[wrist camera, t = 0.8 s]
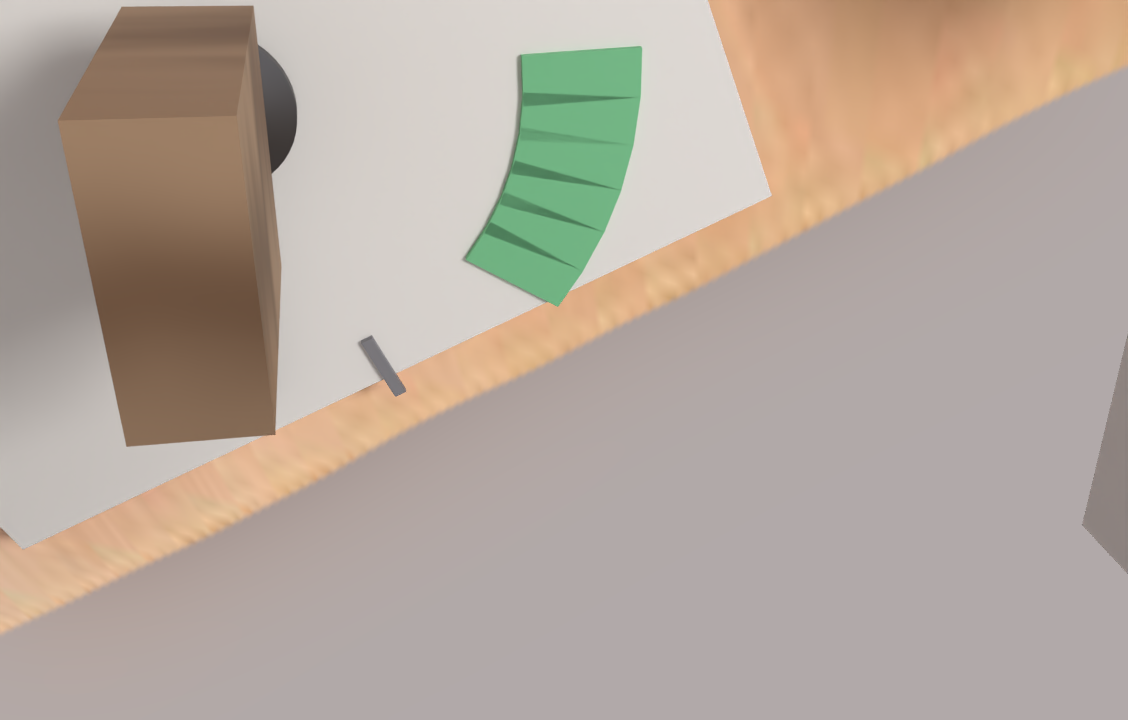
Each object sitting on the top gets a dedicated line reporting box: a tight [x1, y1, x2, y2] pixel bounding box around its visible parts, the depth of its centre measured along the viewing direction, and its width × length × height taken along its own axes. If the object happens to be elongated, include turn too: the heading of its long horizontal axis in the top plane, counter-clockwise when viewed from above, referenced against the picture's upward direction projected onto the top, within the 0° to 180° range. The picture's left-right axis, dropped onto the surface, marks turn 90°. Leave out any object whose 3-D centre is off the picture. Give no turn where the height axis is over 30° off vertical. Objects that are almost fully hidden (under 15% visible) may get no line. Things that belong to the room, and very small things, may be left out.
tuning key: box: [58, 6, 297, 447], centre depth 27 cm, size 14×4×11 cm, turn 178°
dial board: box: [0, 0, 772, 549], centre depth 31 cm, size 22×28×2 cm
